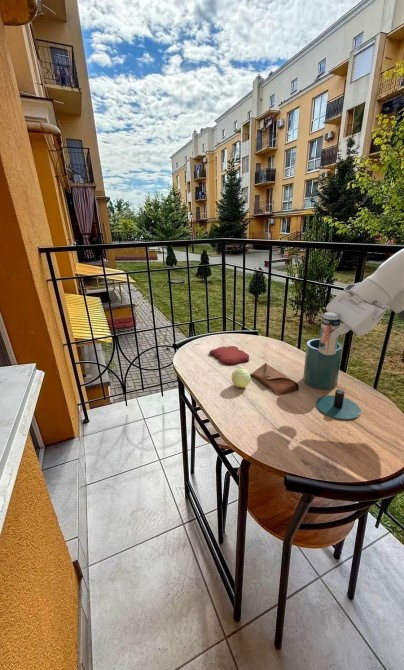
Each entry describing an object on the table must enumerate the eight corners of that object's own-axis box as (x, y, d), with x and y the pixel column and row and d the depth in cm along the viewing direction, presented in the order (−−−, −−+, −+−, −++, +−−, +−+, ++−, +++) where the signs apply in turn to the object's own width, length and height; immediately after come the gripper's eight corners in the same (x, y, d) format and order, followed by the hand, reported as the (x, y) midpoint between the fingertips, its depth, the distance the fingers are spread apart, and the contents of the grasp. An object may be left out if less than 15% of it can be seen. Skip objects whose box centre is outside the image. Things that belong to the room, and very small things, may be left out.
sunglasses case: (247, 373, 105) (255, 358, 104) (260, 378, 109) (268, 363, 108) (279, 397, 90) (288, 379, 89) (292, 401, 93) (302, 384, 93)
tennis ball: (254, 387, 97) (254, 370, 94) (239, 393, 94) (239, 375, 91) (242, 380, 102) (242, 363, 100) (227, 385, 99) (227, 368, 96)
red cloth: (206, 352, 126) (206, 348, 126) (232, 346, 132) (232, 342, 131) (226, 367, 112) (226, 363, 111) (254, 360, 117) (255, 355, 116)
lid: (366, 409, 83) (370, 391, 81) (349, 427, 76) (353, 408, 74) (327, 393, 91) (329, 377, 89) (308, 409, 84) (310, 391, 82)
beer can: (316, 349, 85) (320, 311, 81) (332, 349, 85) (337, 311, 81) (321, 356, 80) (326, 316, 76) (338, 356, 80) (344, 315, 76)
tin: (341, 382, 98) (347, 344, 93) (327, 394, 91) (333, 354, 86) (312, 372, 105) (316, 336, 100) (297, 383, 99) (300, 345, 93)
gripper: (398, 316, 67) (350, 354, 71) (357, 297, 87) (322, 328, 90) (382, 299, 66) (334, 338, 70) (345, 283, 85) (309, 315, 89)
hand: (327, 332), depth 80 cm, fingers closed on beer can, 5 cm apart
